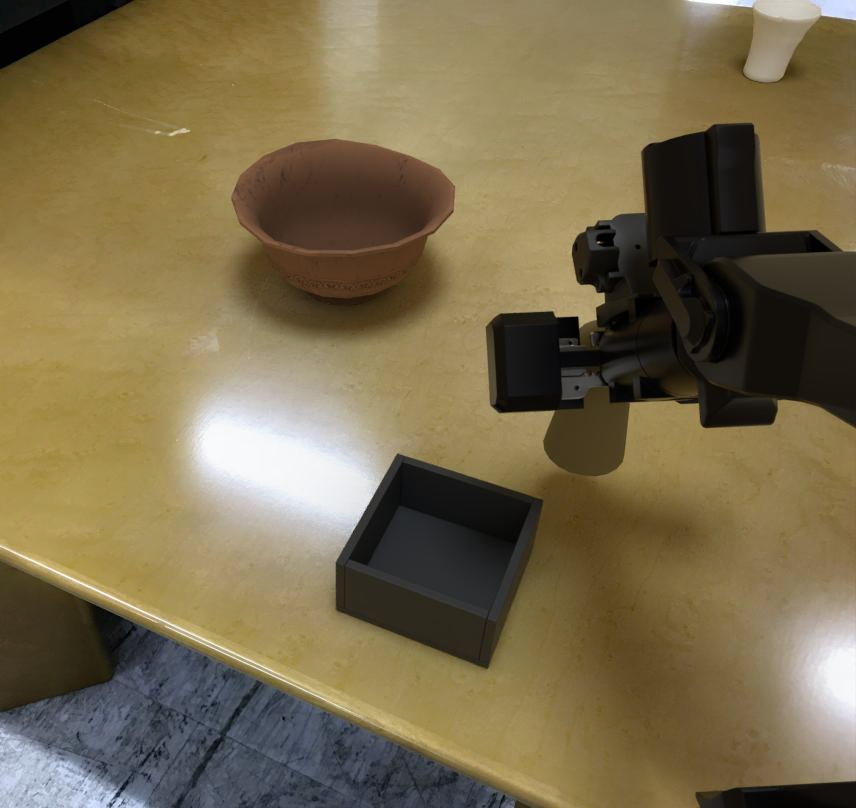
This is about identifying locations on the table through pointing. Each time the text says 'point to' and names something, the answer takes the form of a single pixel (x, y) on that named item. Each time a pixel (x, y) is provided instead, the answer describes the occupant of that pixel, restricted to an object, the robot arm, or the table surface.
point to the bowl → (342, 215)
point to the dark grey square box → (438, 558)
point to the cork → (589, 428)
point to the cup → (777, 36)
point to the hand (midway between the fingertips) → (595, 369)
